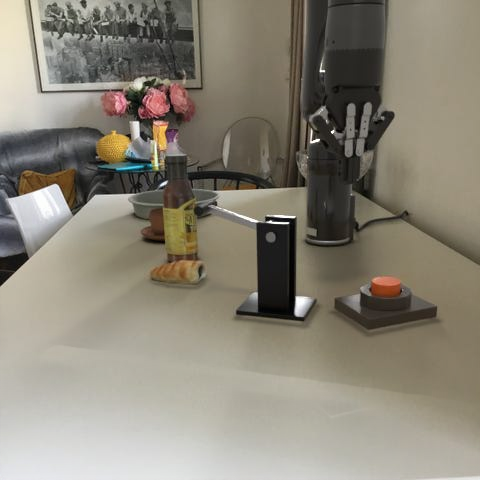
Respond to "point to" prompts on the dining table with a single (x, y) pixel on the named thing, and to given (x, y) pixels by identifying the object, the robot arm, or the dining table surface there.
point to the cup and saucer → (155, 225)
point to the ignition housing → (384, 308)
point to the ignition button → (385, 286)
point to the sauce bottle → (179, 211)
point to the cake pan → (155, 200)
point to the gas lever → (225, 214)
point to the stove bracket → (277, 273)
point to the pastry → (180, 272)
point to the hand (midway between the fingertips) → (348, 183)
